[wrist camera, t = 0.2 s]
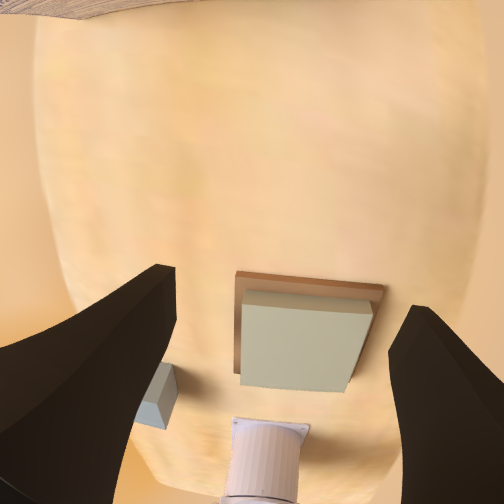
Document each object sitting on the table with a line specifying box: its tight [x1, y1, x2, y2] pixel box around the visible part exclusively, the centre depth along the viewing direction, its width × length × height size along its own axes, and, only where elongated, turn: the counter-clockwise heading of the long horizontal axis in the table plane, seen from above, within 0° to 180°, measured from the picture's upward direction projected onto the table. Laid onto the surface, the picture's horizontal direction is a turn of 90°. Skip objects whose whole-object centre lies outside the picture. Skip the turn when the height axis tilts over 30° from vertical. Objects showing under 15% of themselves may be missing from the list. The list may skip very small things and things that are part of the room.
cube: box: [134, 362, 178, 430], centre depth 25 cm, size 4×4×4 cm
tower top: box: [240, 290, 373, 393], centre depth 21 cm, size 8×8×2 cm
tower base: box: [234, 271, 384, 383], centre depth 22 cm, size 10×10×2 cm
